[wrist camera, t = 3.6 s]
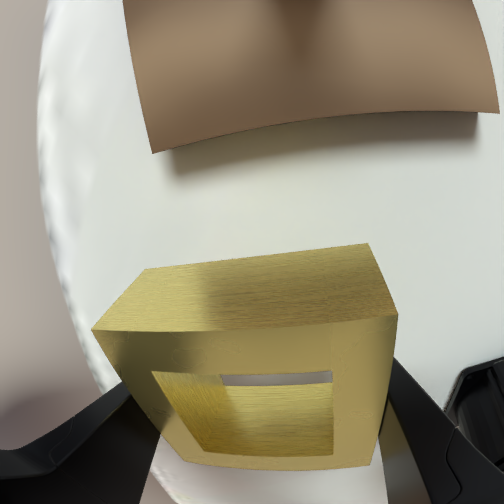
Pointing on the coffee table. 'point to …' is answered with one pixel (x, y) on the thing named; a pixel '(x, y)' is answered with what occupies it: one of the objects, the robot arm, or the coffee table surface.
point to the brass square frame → (259, 356)
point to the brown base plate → (301, 62)
